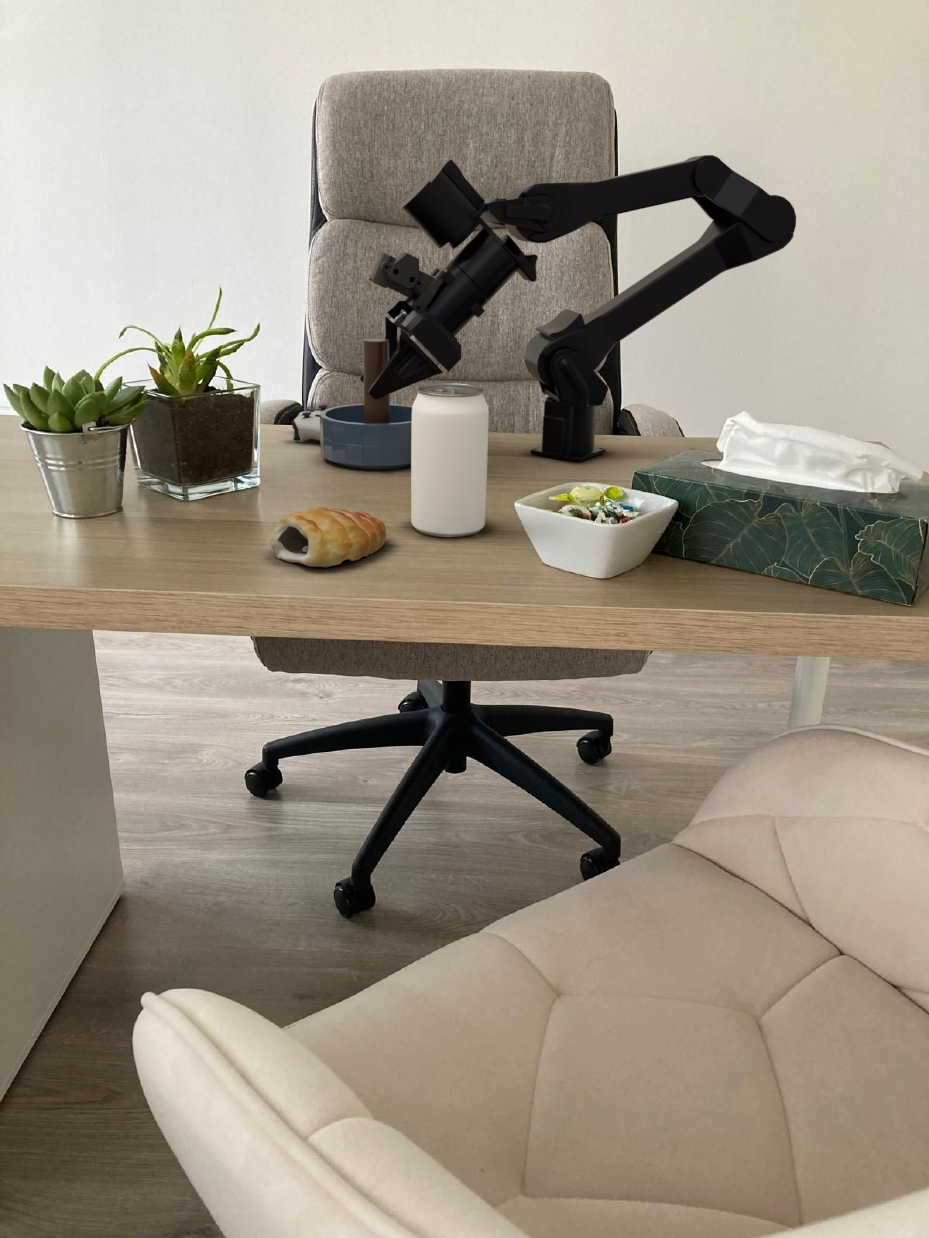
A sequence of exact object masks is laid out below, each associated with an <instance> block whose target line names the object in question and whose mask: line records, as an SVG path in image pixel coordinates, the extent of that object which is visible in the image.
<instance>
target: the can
mask: <svg viewBox="0 0 929 1238" xmlns="http://www.w3.org/2000/svg"><path fill="white" fill-rule="evenodd" d="M416 391H417V395H416V398H415V399H414V402H413V403H412V405H411V406H412V433H411V466H410V488H411V489H410V498H411V499H410V509H411V510H410V513H411V515H410V516H411V518H410V519H411V525H412V526H413V527H414V529H415V531H417V532H419V533H420V534H423V535H425V536H429V537H430V536H431V537H436V538H448V539H449V538H451V539H452V538H465V537H469V536H473V535H476V534H478V533H480V532H481V531H482V529H483V528H484V527H485V524H486V510H487V509H486V506H487V505H486V504H487V481H488V453H489V452H488V449H489V419H490V418H489V415H490V414H489V413H490V412H489V406H488V404H487V401H486V399H485V397H484V393H485V389H484V388H483V387H481V386H478V385H473V384H468V383H467V384H466V383H453V382H452V383H449V382H441V383H440V382H439V383H438V382H437V383H428V384H422V385H419V386H418V387H417V388H416Z"/></svg>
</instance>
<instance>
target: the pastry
mask: <svg viewBox="0 0 929 1238" xmlns="http://www.w3.org/2000/svg"><path fill="white" fill-rule="evenodd" d="M278 521H279V522H278V524H277V526H276V527H275V528H274V530H273V534H272V536H271V537H270V547H271V549H272V550H273V552H274V553H275V556H276V558H277V559H278V560H282V561H285V562H287V563H299V564H301V565H304V566H306V567H314V568H316V567H320V568H330V567H332V566H339V565H341V564H342V562H344V561H346V560H349V561H351V562H354V561H357V560H360V559H361V558H362V557H366V558H367V557H368V556H369V555H372V554H374V553H375V552H378V551H379V550H380V549H381V548H382V547H383V545H384V544H385V543H386V540H387V529H386V528H387V527H386V524H385V523H384V521H382V520H380V519H379V518H376V517H375V516H372V515H371V514H370V513H368V512H364V511H361V510H359V511H358V510H356V511H353V512H352V511H350V510H349V509H346V508H345V509H340V508H327V507H321V506H320V507H316V508H310V509H308V510H307V511H297V512H293V513H290V514H289V515H288V516H284V517H281V518H280V519H279V520H278Z"/></svg>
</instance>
